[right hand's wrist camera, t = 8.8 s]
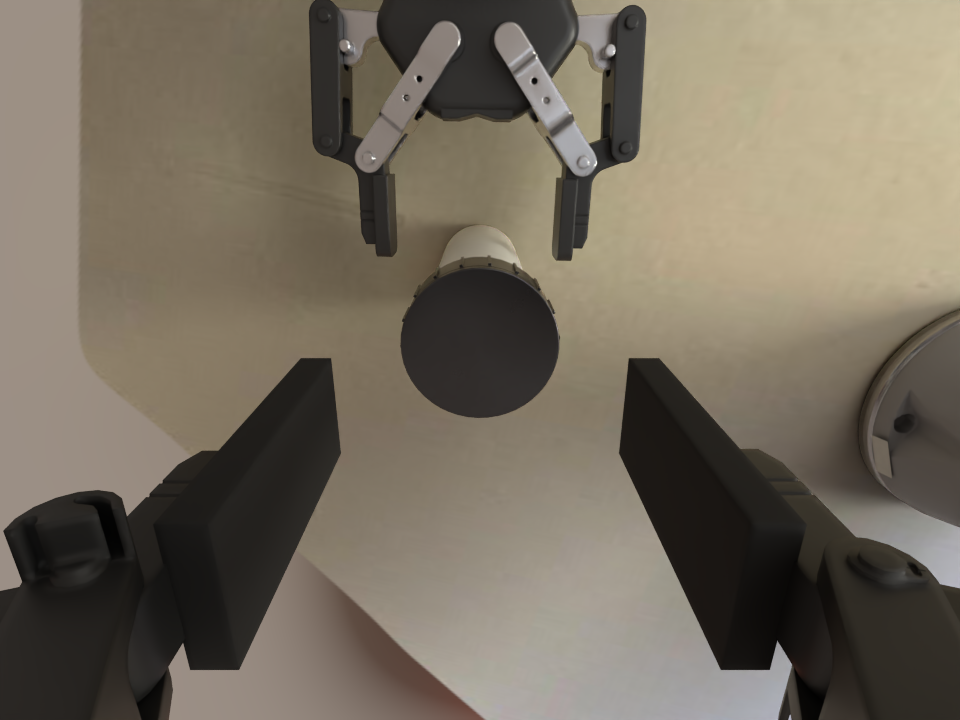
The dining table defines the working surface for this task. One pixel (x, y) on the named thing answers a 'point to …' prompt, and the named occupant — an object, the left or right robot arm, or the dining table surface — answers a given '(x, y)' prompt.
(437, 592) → the dining table surface
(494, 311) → the lid
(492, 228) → the jar
